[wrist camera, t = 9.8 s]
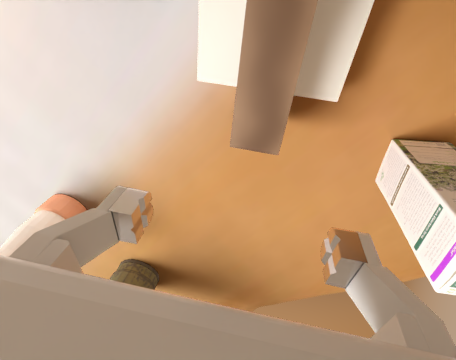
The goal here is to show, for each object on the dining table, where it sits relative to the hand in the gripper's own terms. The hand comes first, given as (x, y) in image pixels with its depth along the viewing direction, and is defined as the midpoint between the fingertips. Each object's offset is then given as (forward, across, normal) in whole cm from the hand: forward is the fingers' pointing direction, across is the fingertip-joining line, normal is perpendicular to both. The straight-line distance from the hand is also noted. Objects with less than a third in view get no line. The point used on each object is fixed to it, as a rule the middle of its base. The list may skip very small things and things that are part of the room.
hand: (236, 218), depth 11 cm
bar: (+15, 0, -4) cm, 16 cm away
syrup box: (+18, -17, +5) cm, 26 cm away
